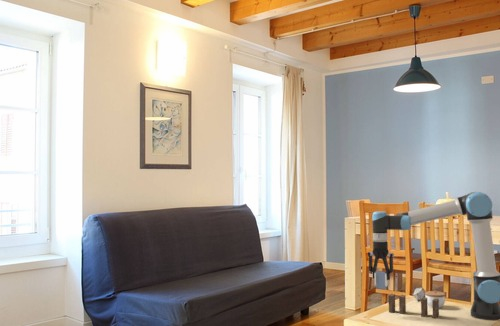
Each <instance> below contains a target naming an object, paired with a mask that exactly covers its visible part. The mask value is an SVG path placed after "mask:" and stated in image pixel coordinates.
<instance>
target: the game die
mask: <svg viewBox="0 0 500 326" xmlns="http://www.w3.org/2000/svg"><path fill="white" fill-rule="evenodd" d="M425 292H427V290H426V289H424V288H423V287H416V286H414V291H413V294H412V295H411V296H413V297H414V298H415V299H416V300H417V302H420V301H421V299H422V298H423V297H425Z"/></svg>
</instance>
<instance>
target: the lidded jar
mask: <svg viewBox="0 0 500 326" xmlns="http://www.w3.org/2000/svg"><path fill="white" fill-rule="evenodd" d="M425 298H427V306H429V308H432V309H433V306H432V300H433V299H439V309H441V308H442V307H443V306H444V305H445V302H446V293H445V292H442V291H438V290H436V289H434V290H429V291H426V292H425Z"/></svg>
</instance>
